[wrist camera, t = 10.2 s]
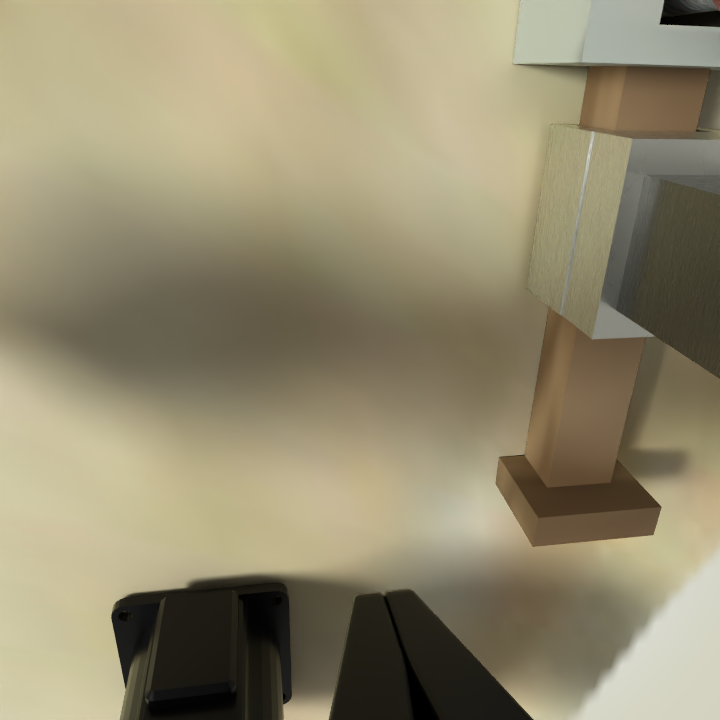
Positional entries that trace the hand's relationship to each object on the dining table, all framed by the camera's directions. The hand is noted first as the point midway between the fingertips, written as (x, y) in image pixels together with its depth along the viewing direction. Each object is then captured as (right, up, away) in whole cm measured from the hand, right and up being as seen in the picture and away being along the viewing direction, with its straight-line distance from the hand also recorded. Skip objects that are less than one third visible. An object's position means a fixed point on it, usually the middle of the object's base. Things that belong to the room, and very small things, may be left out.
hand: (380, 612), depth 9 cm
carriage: (+7, +8, +11) cm, 15 cm away
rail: (+7, +5, +12) cm, 15 cm away
